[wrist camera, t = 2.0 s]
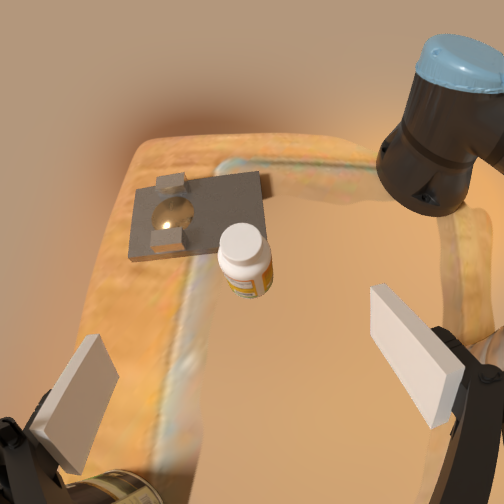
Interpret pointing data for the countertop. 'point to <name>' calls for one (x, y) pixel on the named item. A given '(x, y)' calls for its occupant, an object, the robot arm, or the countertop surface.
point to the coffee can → (113, 489)
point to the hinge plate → (192, 214)
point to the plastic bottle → (490, 349)
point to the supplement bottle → (246, 260)
